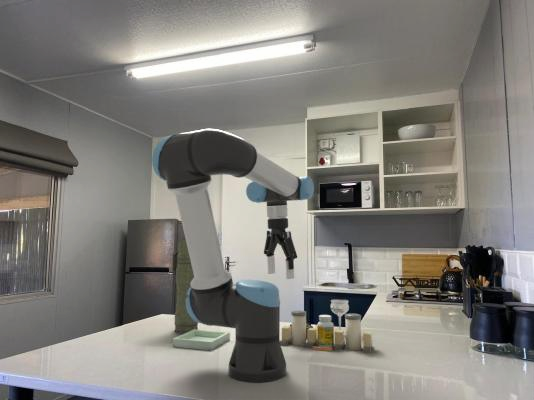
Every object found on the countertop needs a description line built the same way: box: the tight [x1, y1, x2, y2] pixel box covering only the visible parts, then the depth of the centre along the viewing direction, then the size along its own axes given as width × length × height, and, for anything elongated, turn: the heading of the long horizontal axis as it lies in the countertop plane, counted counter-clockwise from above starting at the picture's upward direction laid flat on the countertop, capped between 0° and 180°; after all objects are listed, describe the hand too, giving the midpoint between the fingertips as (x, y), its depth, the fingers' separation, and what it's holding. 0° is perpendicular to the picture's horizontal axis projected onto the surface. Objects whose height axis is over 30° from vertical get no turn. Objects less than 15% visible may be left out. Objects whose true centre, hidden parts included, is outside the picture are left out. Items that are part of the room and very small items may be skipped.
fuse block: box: [280, 325, 373, 354], centre depth 129 cm, size 10×29×5 cm, turn 71°
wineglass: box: [330, 299, 350, 336], centre depth 147 cm, size 7×7×12 cm
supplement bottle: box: [316, 314, 335, 348], centre depth 130 cm, size 5×5×10 cm
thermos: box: [172, 238, 199, 334], centre depth 154 cm, size 9×12×35 cm
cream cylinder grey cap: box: [290, 309, 307, 346], centre depth 133 cm, size 5×5×10 cm
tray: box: [172, 329, 231, 351], centre depth 133 cm, size 14×14×2 cm
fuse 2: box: [344, 313, 362, 351], centre depth 127 cm, size 5×5×10 cm
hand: (280, 276), depth 144 cm, fingers open, 13 cm apart
